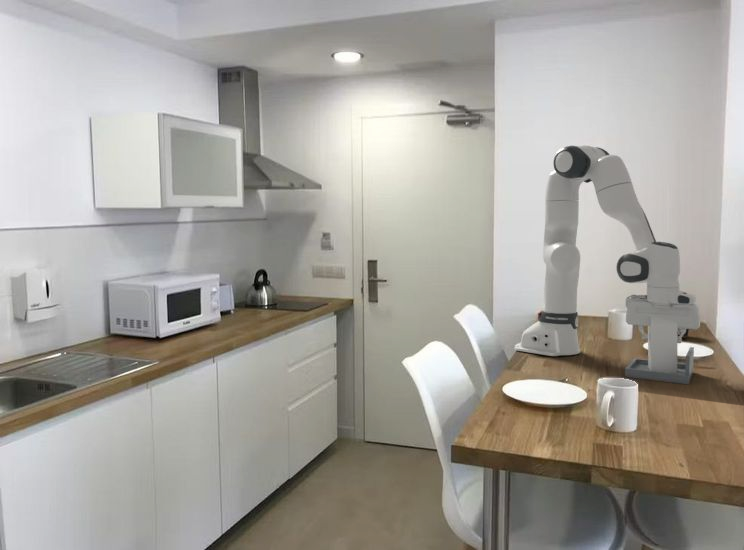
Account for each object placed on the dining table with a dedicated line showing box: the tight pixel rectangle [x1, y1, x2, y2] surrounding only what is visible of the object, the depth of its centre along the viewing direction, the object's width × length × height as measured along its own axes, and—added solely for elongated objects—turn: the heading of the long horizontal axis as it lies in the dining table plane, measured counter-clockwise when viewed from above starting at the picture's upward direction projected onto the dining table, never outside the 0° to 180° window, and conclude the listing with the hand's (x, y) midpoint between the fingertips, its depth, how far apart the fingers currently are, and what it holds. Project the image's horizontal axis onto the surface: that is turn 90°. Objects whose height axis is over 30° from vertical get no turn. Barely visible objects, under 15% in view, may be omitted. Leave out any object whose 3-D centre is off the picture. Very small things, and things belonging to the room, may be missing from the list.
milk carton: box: [647, 316, 678, 374], centre depth 184 cm, size 7×7×19 cm
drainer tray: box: [624, 346, 695, 385], centre depth 184 cm, size 17×16×8 cm
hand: (661, 341), depth 184 cm, fingers open, 8 cm apart
